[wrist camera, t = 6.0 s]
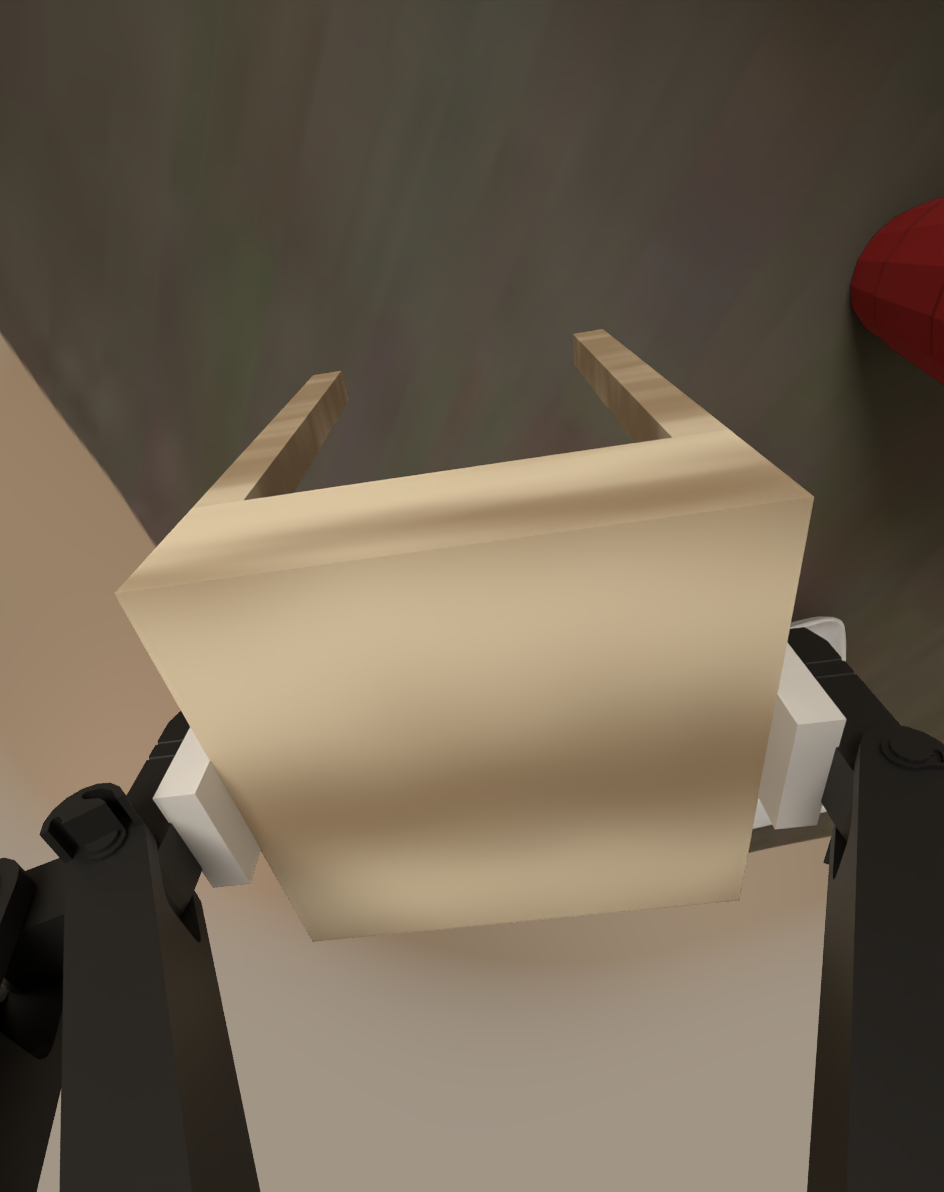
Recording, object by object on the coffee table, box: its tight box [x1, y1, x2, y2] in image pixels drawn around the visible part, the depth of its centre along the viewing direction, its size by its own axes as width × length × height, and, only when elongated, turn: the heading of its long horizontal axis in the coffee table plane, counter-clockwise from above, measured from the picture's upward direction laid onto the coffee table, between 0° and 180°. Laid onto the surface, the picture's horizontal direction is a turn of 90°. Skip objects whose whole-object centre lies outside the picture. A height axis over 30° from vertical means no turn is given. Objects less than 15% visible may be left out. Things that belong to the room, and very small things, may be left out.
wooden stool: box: [114, 329, 814, 942], centre depth 17 cm, size 10×10×14 cm
